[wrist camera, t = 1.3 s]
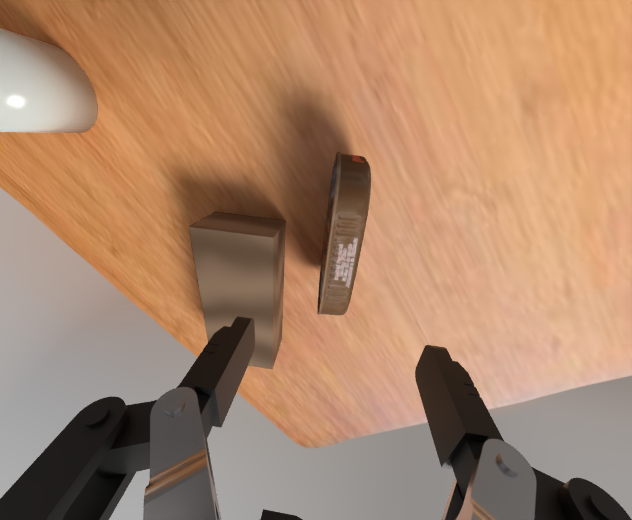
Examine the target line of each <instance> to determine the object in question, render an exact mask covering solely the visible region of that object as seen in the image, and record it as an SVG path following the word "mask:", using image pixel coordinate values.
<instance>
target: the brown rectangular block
mask: <svg viewBox="0 0 632 520" xmlns="http://www.w3.org/2000/svg"><path fill="white" fill-rule="evenodd" d="M285 224H286V221H284V220H276V219H268V218H260V217H252V216H244V215H236V214H228V213H220V212H214V213H212V214H210V215H209V216H207V217H205V218H203V219H202V220H200V221H198V222H196V223H195V224H193V225H191V226H189V231H190V237H191V243H192V249H193V255H194V261H195V267H196V273H197V279H198V285H199V290H200V296H201V302H202V308H203V314H204V320H205V326H206V332H207V338H208V342H209V340H210V339H211V337H212V336H213V334H214V333H215V332H217V331H218V330H219V329H221V328H222V327H223V326H228V327H231V325H232V324H233V322H234V320H235V319H236V317H238V316H239V317H246V318H253V319H254V325H255V347H254V351H253V355H252V357H251V359H250V362H249V364H248V366H255V367H261V368H267V369H273V366H274V363H275V359H276V356H277V353H278V350H279V347H280V343H281V340H282V316H283V285H284V255H285Z"/></svg>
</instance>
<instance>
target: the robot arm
mask: <svg viewBox="0 0 632 520" xmlns="http://www.w3.org/2000/svg"><path fill="white" fill-rule="evenodd" d="M254 347H255V325H254V319H253V318H246V317H239V316H238V317H236V319H235V320H234V322H233V324H232V325H231V327H228V326H223V327H222V328H221V329H219V330H218V331H217V332H215V333H214V334H213V336H212V337H211V339H210V340H209V342H208V344H207V345H206V346H205V348H204V349H203V352H202V353H201V354H200V355H199V357H198V358H197V360H196V361H195V363H194V364H193V366H192V367H191V369H190V370H189V372H188V373H187V374H186V376H185V377H184V379H183V380H182V382H181V383H180V385H179V386H178V387H177V388H176V389H172V390H170V391H168V392H167V393H165V394H164V395H162V396H161V397H160V398H159V399H158V400H155V401H151V402H145V403H139V404H133V405H125V403H124V401H123V400H122V399H121V398H119V397H107V398H103V399H100V400H97V401H95V402H93V403H92V404H90V405H88V406H87V407H85V408H84V409H83V410H82V411H80V412H79V413H78V414H77V415H76V416H75V417H74V419H73V420H72V421H71V422H70V423H69V424H68V425H67V426H66V427H65V429H64V430H63V431H62V432H61V433H60V434H59V435H58V436H57V437H56V438H55V439H54V441H53V442H52V443H51V444H50V445H49V446H48V447H47V448H46V449H45V451H44V452H43V453H42V454H41V455H40V456H39V457H38V458H37V459H36V460H35V461H34V463H33V464H32V465H31V466H30V467H29V468H28V469H27V470H26V471H25V472H24V474H23V475H22V476H21V477H20V478H19V479H18V480H17V481H16V483H14V485H13V486H12V487H11V488H10V489H9V490H8V491H7V492H6V493H5V494H4V496H3V497H2V498H1V499H0V520H109V518H110V517H111V515H112V513H113V511H114V509H115V508H116V506H117V504H118V503H119V501H120V499H121V497H122V496H123V494H124V492H125V491H126V488H127V487H128V485H129V483H130V482H131V480H132V478H133V476H134V475H135V473H136V471H141V470H145V469H150V481H149V485H148V486H147V487H146V489H145V495H144V517H143V518H144V519H143V520H221V515H220V510H219V505H218V500H217V494H216V489H215V483H214V477H213V471H212V465H211V460H210V454H209V449H208V443H207V437H208V435H209V433H210V431H211V428H212V426H216V427H222V424H223V422H224V420H225V417H226V415H227V413H228V410H229V408H230V406H231V403H232V401H233V399H234V396H235V394H236V392H237V390H238V387H239V385H240V383H241V380H242V378H243V376H244V373H245V371H246V369H247V366H248V364H249V362H250V359H251V357H252V355H253V351H254ZM415 377H416V383H417V386H418V389H419V393H420V396H421V400H422V403H423V406H424V410H425V413H426V417H427V420H428V423H429V426H430V430H431V433H432V437H433V440H434V444H435V447H436V451H437V454H438V457H439V460H440V464H441V467H442V468H448V469H453V471H454V473H455V477H456V479H455V481H454V483H453V485H452V489H451V492H450V495H449V498H448V501H447V504H446V507H445V510H444V513H443V516H442V520H632V519H631V518H630V517H629V515H628V514H627V513H626V511H625V510H624V509H623V508H622V507H621V506H620V505H619V504H618V503H617V502H616V501H615V500H614V499H613V498H612V497H611V496H610V495H609V494H608V493H607V492H605V491H604V490H603V489H601V488H600V487H598V486H597V485H595V484H593V483H592V482H589V481H587V480H585V479H581V478H573V479H571V480H570V481H568V482H567V483H566V484H565V483H563V482H561V481H559V480H557V479H555V478H552V477H551V476H549V475H546V474H545V473H542V472H540V471H538V470H536V469H534V468H533V467H531V466H530V464H529V463H528V461H527V460H526V459H525V458H524V457H523V455H521V453H520V452H518V451H517V450H516V449H515V448H514V447H512V446H511V445H509V444H508V443H506V442H504V440H503V438H502V436H501V435H500V433H499V431H498V429H497V427H496V425H495V423H494V421H493V419H492V418H491V416H490V414H489V412H488V410H487V408H486V406H485V404H484V402H483V400H482V399H481V398H480V395H479V393H478V391H477V389H476V387H474V383H473V381H472V380H471V378H470V376H469V374H468V372H467V371H466V370H465V369H464V368H463V367H462V366H461V365H460V364H459V363H458V362H456V361H452V359H451V357H450V355H449V353H448V351H447V349H446V348H444V347H438V346H431V345H426V346H425V348H424V350H423V352H422V355H421V357H420V360H419V362H418V364H417V367H416V371H415ZM261 520H302V519H301V518H299V517H297V516H294V515H289V514H284V513H279V512H274V511H268V510H263V512H262V517H261Z"/></svg>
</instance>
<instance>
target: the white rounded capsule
mask: <svg viewBox="0 0 632 520" xmlns="http://www.w3.org/2000/svg"><path fill="white" fill-rule="evenodd" d="M97 114H98V104H97V98H96V94H95V91H94V88H93V86H92V84H91V82H90V80H89V78H88V76H87V75H86V73H85V71H84V70H83V69H82V67H81V66H80V65H79V64H78V63H77V62H76V60H75V59H74V58H72V57H71V56H70V55H69V54H68V53H67V52H65V51H64V50H62V49H61V48H59V47H57V46H55V45H52V44H49V43H45V42H42V41H39V40H36V39H33V38H30V37H27V36H23V35H20V34H17V33H14V32H11V31H8V30H5V29H2V28H0V132H45V133H83V132H86V131H88V130H90V129H91V128H92V127H93V125H94V124H95V122H96V119H97Z"/></svg>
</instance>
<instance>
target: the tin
mask: <svg viewBox="0 0 632 520" xmlns="http://www.w3.org/2000/svg"><path fill="white" fill-rule="evenodd" d="M370 190H371V172H370V166H369V164H368V162H367V161H366V159H365V158H364V157H362V156H354V155H344V154H341V153H339V152H337V154H336V159H335V163H334V167H333V173H332V180H331V188H330V196H329V204H328V212H327V220H326V228H325V236H324V243H323V252H322V261H321V270H320V281H319V297H318V314H329V315H343V314H345V313H346V311H347V309H348V306H349V303H350V299H351V294H352V290H353V285H354V280H355V275H356V271H357V266H358V261H359V256H360V252H361V246H362V241H363V236H364V231H365V226H366V221H367V215H368V208H369V201H370Z"/></svg>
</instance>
